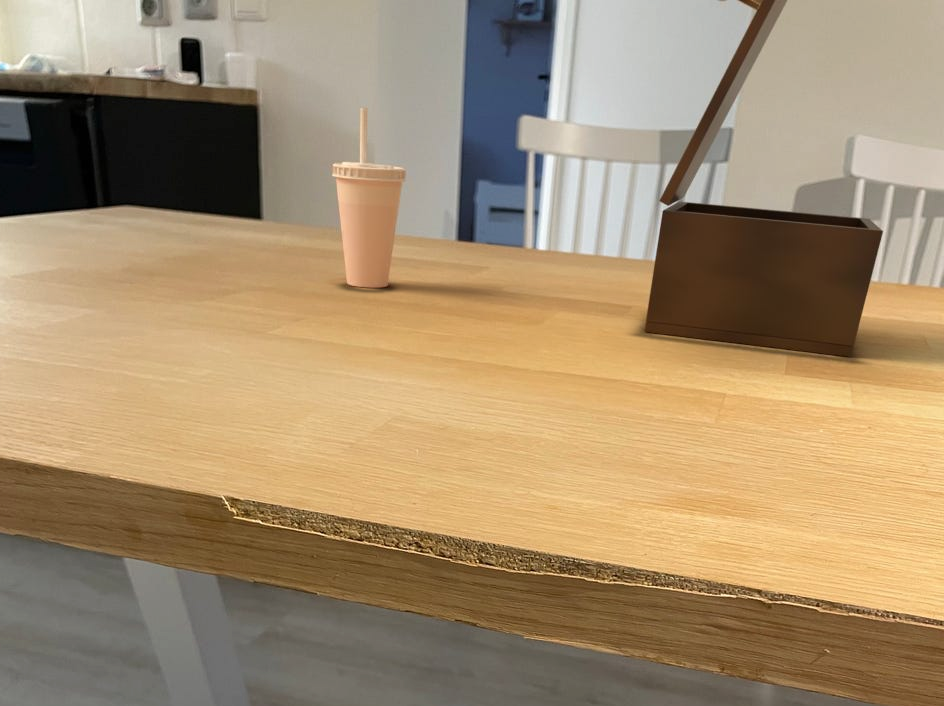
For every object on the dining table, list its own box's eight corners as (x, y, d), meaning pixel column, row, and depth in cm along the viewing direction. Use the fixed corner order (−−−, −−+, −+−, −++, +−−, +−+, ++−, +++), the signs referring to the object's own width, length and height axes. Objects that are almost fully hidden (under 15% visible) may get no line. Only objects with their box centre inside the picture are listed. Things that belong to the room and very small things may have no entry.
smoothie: (341, 276, 90) (342, 106, 83) (408, 282, 89) (414, 112, 82) (323, 285, 84) (323, 105, 77) (394, 292, 83) (400, 110, 77)
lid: (796, -16, 72) (733, -49, 72) (797, -44, 62) (724, -82, 62) (683, 197, 81) (628, 167, 81) (668, 206, 70) (604, 171, 70)
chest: (842, 329, 82) (869, 218, 78) (850, 357, 71) (883, 230, 67) (661, 308, 85) (678, 201, 81) (644, 332, 75) (662, 210, 71)
